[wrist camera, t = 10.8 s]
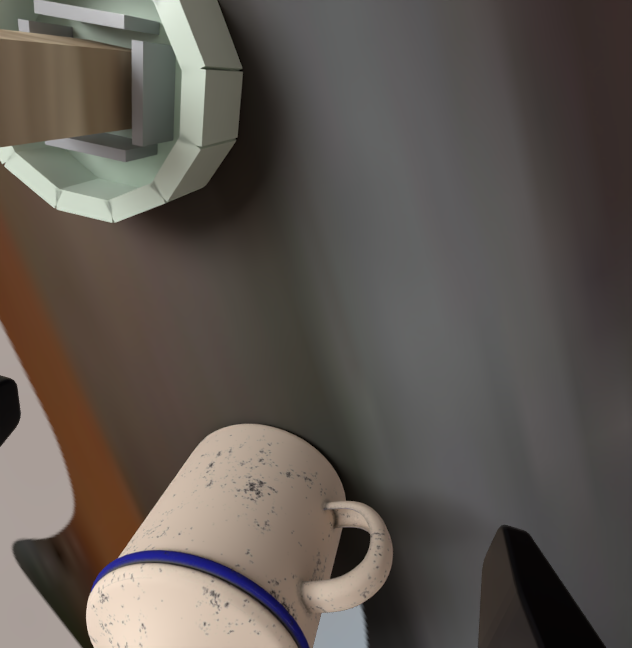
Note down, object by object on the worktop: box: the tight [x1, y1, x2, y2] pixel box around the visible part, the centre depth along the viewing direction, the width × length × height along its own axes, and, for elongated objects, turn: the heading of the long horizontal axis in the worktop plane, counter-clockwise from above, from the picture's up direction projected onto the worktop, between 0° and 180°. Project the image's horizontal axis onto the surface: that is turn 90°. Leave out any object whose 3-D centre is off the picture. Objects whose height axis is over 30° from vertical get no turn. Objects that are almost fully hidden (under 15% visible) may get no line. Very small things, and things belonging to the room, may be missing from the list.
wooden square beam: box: [0, 29, 132, 147], centre depth 16 cm, size 2×2×8 cm
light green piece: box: [0, 0, 243, 223], centre depth 18 cm, size 9×9×3 cm
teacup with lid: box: [86, 424, 393, 648], centre depth 21 cm, size 12×9×12 cm
